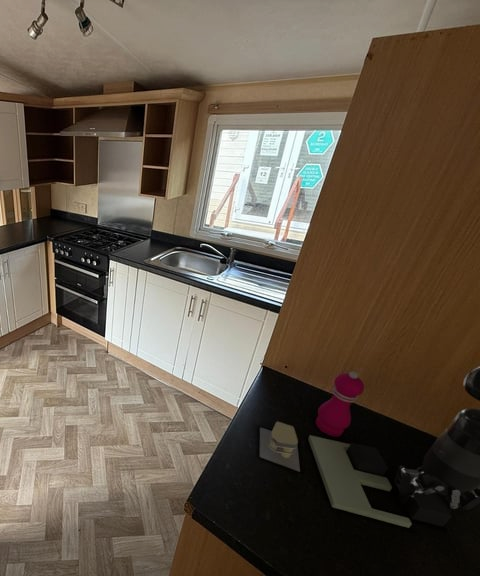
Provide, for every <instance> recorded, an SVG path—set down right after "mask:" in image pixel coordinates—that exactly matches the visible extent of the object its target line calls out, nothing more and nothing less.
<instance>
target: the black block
mask: <svg viewBox="0 0 480 576" xmlns="http://www.w3.org/2000/svg"><path fill="white" fill-rule="evenodd" d="M422 487H423V488H424V486H422ZM424 489H425V488H424ZM412 490H413V491H415V490H416V488H415V487H414V488H412ZM400 494H401V493H400V491H398V493H397V495H398V496H399V495H400ZM440 497H441V496H440V494H439V493H432V494H430V495H428V496H423V495H422V496H420V497H418V498H416V500H415V501H414V503H413V504H412V505H411V506H410V508H409V509H407V508H405V510H406V511H407V513H408V515H409V517H410V519H412V520H416V521H419V522H423V523H426V524H430V525H434V526H439V527H442V528H443V527H444V526H445V525H446V524H447V523H448V521H449V520H450V519H451V518H452V517H453V515H452V513H451V512H449V510H448V509H447V507H446V506H445V504H444V503H443V501H442V500H441V498H440Z"/></svg>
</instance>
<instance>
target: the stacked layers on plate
mask: <svg viewBox="0 0 480 576" xmlns="http://www.w3.org/2000/svg"><path fill="white" fill-rule="evenodd" d="M298 443H299V440H298V436H297V433H296V430H295V427H294V426H293V425H290V424H287V423H284V422H281V421H276V422H275V424H274V426H273V428H272V430H269V429H267V428H264V427H259V458H261V459H264V460H266V461H268V462H269V461H270V462H272V463H274V464H277V465H280V466H283V467H285V468H288V469H291V470H294V471H296V472H298V473H301V468H300V467H301V466H300V456H299V449H298Z"/></svg>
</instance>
